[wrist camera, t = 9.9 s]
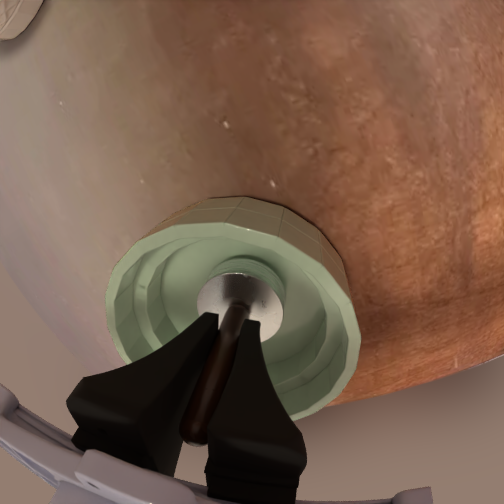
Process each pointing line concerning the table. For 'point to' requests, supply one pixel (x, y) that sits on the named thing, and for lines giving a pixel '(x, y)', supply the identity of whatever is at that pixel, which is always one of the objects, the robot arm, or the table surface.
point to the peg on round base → (230, 332)
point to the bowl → (254, 248)
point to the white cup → (16, 16)
